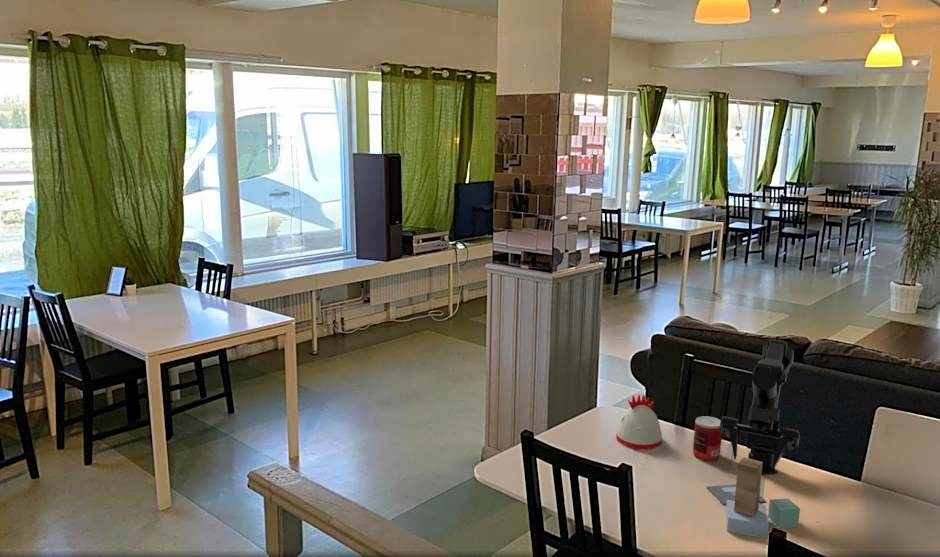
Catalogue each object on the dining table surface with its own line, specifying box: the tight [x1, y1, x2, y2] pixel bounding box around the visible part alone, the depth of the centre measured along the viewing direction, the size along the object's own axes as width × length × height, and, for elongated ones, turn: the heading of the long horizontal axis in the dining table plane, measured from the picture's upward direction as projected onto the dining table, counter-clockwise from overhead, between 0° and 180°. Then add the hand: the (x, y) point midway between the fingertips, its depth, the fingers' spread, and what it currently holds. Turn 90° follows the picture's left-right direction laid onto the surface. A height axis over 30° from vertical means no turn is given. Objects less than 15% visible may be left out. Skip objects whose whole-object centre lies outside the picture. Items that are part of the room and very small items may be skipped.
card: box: [706, 484, 767, 506], centre depth 187 cm, size 12×9×1 cm
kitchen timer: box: [615, 393, 663, 451], centre depth 219 cm, size 14×14×15 cm
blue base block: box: [725, 500, 769, 539], centre depth 172 cm, size 9×9×4 cm
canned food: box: [692, 415, 723, 462], centre depth 209 cm, size 8×8×11 cm
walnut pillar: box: [734, 456, 763, 517], centre depth 171 cm, size 4×4×12 cm
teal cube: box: [767, 497, 801, 529], centre depth 174 cm, size 5×5×5 cm
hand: (754, 462), depth 177 cm, fingers open, 9 cm apart
